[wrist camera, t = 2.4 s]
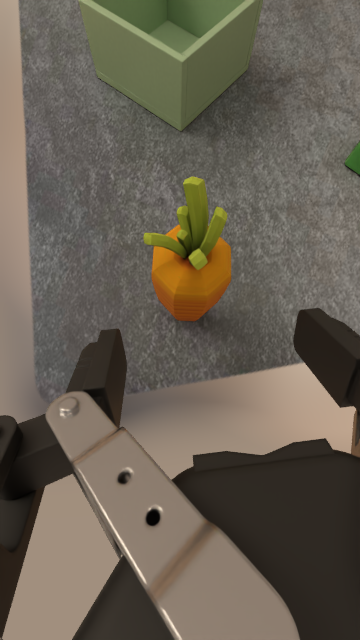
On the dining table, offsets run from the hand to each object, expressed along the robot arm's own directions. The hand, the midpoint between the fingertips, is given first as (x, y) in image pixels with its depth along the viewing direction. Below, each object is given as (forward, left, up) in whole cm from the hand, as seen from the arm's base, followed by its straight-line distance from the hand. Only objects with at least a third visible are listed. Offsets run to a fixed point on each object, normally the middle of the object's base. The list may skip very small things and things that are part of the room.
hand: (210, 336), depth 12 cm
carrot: (+2, +5, -13) cm, 14 cm away
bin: (+15, +34, -12) cm, 39 cm away
